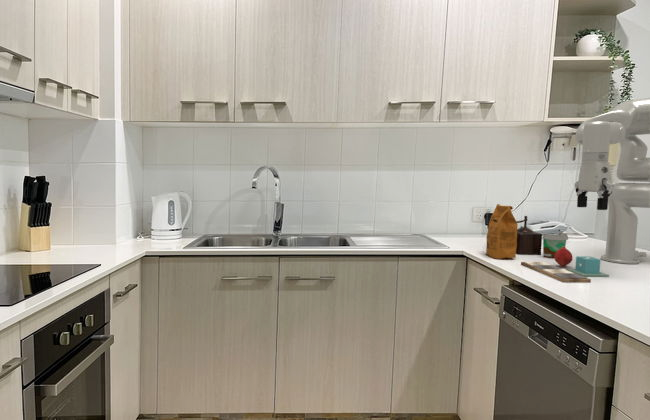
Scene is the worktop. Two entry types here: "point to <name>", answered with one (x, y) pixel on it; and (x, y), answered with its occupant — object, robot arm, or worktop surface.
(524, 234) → the manual coffee grinder
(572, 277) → the board
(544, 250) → the food container
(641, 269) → the worktop surface
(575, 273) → the mat
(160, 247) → the worktop surface
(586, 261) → the die
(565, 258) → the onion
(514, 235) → the coffee package
